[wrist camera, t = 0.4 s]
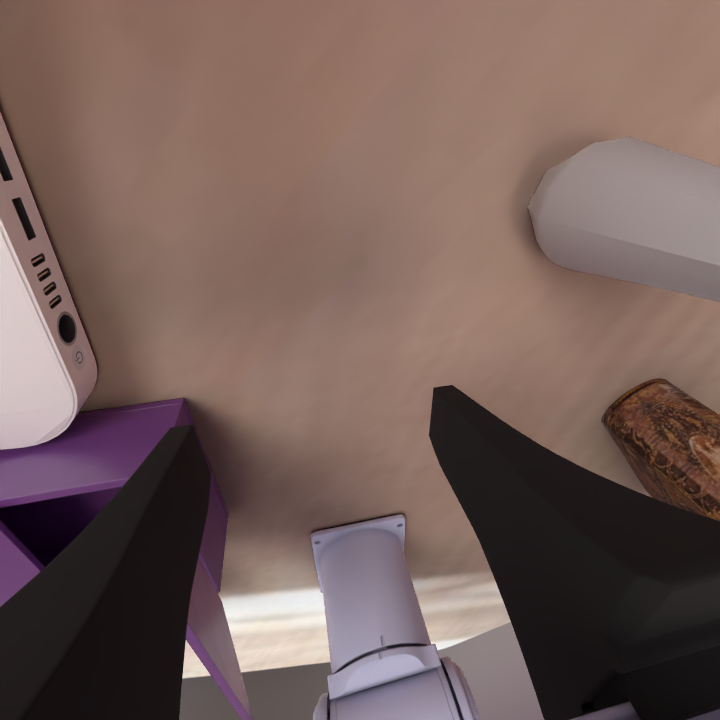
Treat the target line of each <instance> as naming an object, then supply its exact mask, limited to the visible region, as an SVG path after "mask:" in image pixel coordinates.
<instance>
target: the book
mask: <svg viewBox="0 0 720 720" xmlns="http://www.w3.org/2000/svg"><path fill="white" fill-rule="evenodd" d="M602 421H603V423H604V425H605V426H606V428H607V429H608V431H609V433H610V434H611V436H612V437H613V439H614V441H615V442H616V444H617V445H618V447H619V448H620V450H621V452H622V453H623V455H624V456H625V458H626V460H627V461H628V463H629V464H630V466H631V468H632V469H633V471H634V472H635V474H636V475H637V477H638V479H639V480H640V482H641V483H642V485H643V486H644V488H645V489H646V490H647V492H648V493H649V494H650V495H651V496H652V497H653V498H654V499H657V500H659V501H662V502H665V503H667V504H670V505H673V506H675V507H678V508H681V509H684V510H687V511H690V512H693V513H697V514H700V515H703V516H706V517H709V518H712V519H715V520H718V521H720V415H718V414H717V413H715V412H714V411H712V410H710V409H709V408H707V407H706V406H704V405H703V404H701V403H700V402H698V401H697V400H695V399H694V398H692V397H691V396H689V395H688V394H686V393H684V392H683V391H681V390H680V389H678V388H677V387H675V386H674V385H672V384H671V383H669V382H668V381H666V380H665V379H654V380H651V381H648V382H645V383H643V384H641V385H639V386H637V387H635V388H634V389H632V390H631V391H629V392H627V393H626V394H625V395H623V396H622V397H621V398H619V399H618V400H617V401H616V402H615V403H614V404H613V405H612V406H611V407H610V408H609V409H608V410H607V412H606V413H605V415H604V417H603V419H602Z"/></svg>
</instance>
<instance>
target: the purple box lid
mask: <svg viewBox="0 0 720 720" xmlns="http://www.w3.org/2000/svg"><path fill="white" fill-rule="evenodd" d="M186 640H187V642H188V643H189V645H190V646H191V647H192V649H193V650H194V652H195V653H196V655H197V656H198V657H199V659H200V660H201V662H202V663H203V665H204V666H205V667H206V669H207V670H208V672H209V673H210V675H211V676H212V677H213V679H214V680H215V682H216V683H217V685H218V686H219V687H220V689H221V690H222V692H223V693H224V694H225V696H226V697H227V699H228V700H229V701H230V703H231V704H232V706H233V707H234V709H235V710H236V712H237V713H238V714H239V716H240V717H241V719H242V720H253V717H252V713H251V709H250V705H249V701H248V698H247V694H246V690H245V686H244V683H243V679H242V676H241V672H240V668H239V664H238V660H237V657H236V653H235V649H234V645H233V642H232V638H231V634H230V631H229V627H228V623H227V619H226V616H225V612H224V608H223V604H222V601H221V599H220V597H219V595H218V593H217V591H216V589H215V587H214V585H213V583H212V581H211V579H210V577H209V576H208V574H207V572H206V570H205V568H204V566H203V564H202V562H201V560H200V558H199V557H198V562H197V567H196V572H195V576H194V581H193V586H192V592H191V598H190V604H189V613H188V622H187V632H186Z"/></svg>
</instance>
